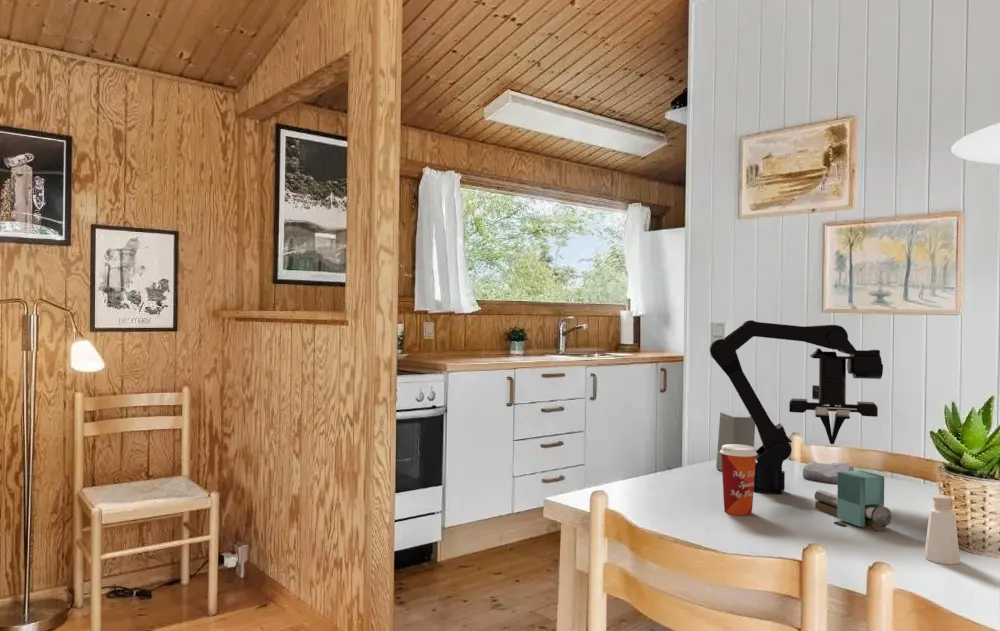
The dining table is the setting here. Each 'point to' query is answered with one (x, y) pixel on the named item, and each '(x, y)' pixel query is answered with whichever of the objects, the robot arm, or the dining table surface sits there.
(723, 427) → the skincare box
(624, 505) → the dining table surface
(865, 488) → the teal notched block
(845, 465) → the stone block
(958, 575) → the dining table surface
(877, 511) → the pipe rig
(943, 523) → the pepper shaker
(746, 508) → the paper cup
